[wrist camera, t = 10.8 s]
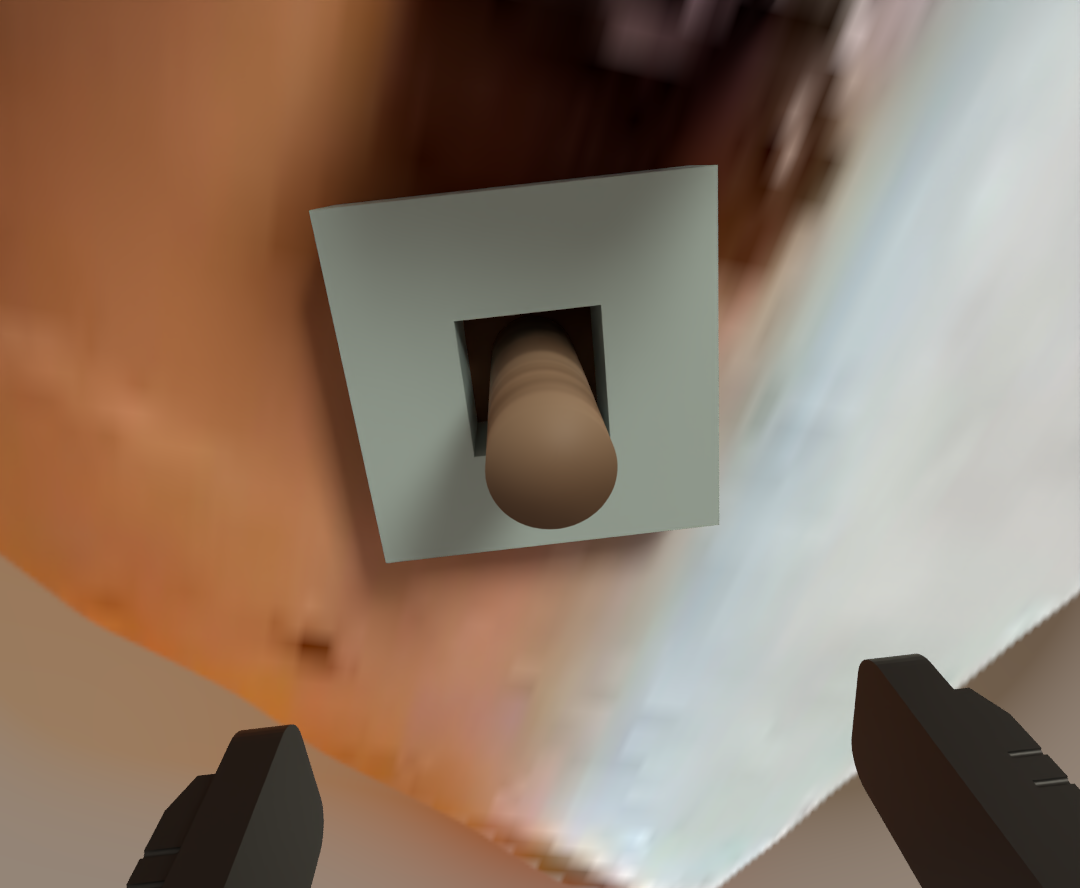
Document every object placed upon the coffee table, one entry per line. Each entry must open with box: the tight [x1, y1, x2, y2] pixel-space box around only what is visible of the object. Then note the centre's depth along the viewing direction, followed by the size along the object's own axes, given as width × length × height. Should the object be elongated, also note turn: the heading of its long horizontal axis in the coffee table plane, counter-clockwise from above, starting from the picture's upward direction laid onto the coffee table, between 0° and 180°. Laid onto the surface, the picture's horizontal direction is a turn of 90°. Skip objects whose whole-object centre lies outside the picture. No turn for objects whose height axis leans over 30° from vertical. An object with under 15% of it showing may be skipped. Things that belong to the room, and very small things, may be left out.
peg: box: [485, 316, 618, 530], centre depth 24 cm, size 4×4×12 cm
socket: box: [309, 165, 719, 563], centre depth 28 cm, size 14×14×4 cm
